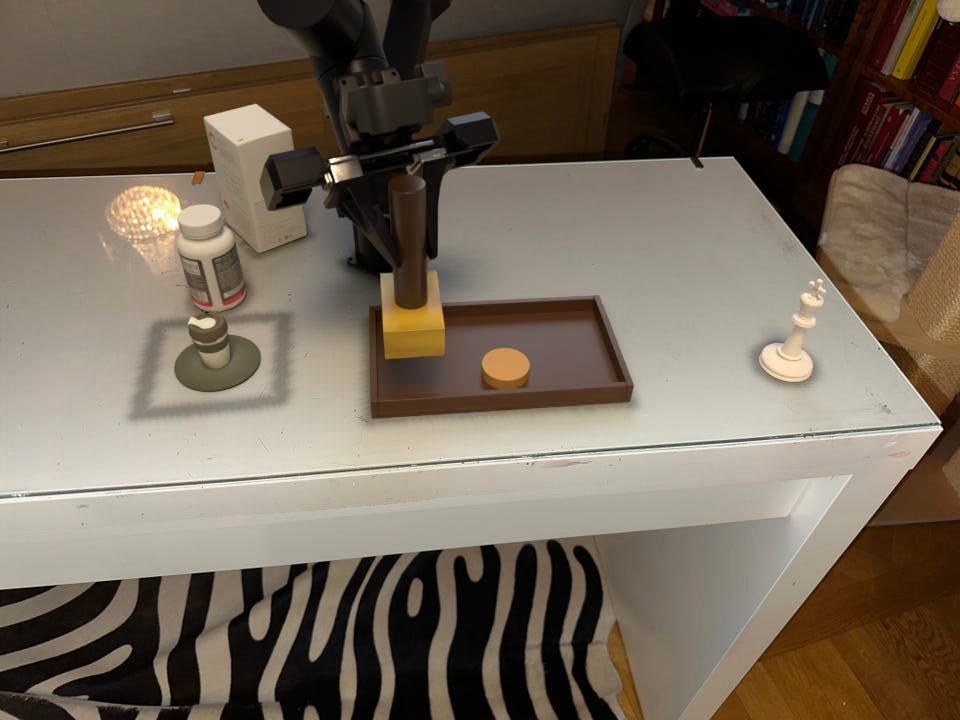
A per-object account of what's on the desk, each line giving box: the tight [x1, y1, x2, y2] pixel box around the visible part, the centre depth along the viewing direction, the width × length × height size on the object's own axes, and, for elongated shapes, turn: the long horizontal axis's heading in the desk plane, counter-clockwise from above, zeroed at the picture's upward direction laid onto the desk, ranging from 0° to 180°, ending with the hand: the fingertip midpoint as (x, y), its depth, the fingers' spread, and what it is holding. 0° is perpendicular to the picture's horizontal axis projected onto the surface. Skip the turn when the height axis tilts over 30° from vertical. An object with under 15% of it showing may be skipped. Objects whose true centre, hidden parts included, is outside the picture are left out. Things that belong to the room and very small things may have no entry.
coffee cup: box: [173, 311, 261, 392], centre depth 68 cm, size 12×12×5 cm
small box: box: [203, 103, 308, 254], centre depth 82 cm, size 8×6×13 cm
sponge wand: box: [379, 175, 445, 359], centre depth 61 cm, size 8×5×14 cm, turn 7°
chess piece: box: [758, 278, 828, 383], centre depth 69 cm, size 5×5×10 cm
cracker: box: [481, 348, 530, 389], centre depth 69 cm, size 4×4×1 cm
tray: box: [368, 294, 635, 419], centre depth 71 cm, size 23×13×2 cm, turn 97°
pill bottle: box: [176, 203, 247, 313], centre depth 74 cm, size 5×5×10 cm
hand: (416, 263), depth 60 cm, fingers closed on sponge wand, 3 cm apart
